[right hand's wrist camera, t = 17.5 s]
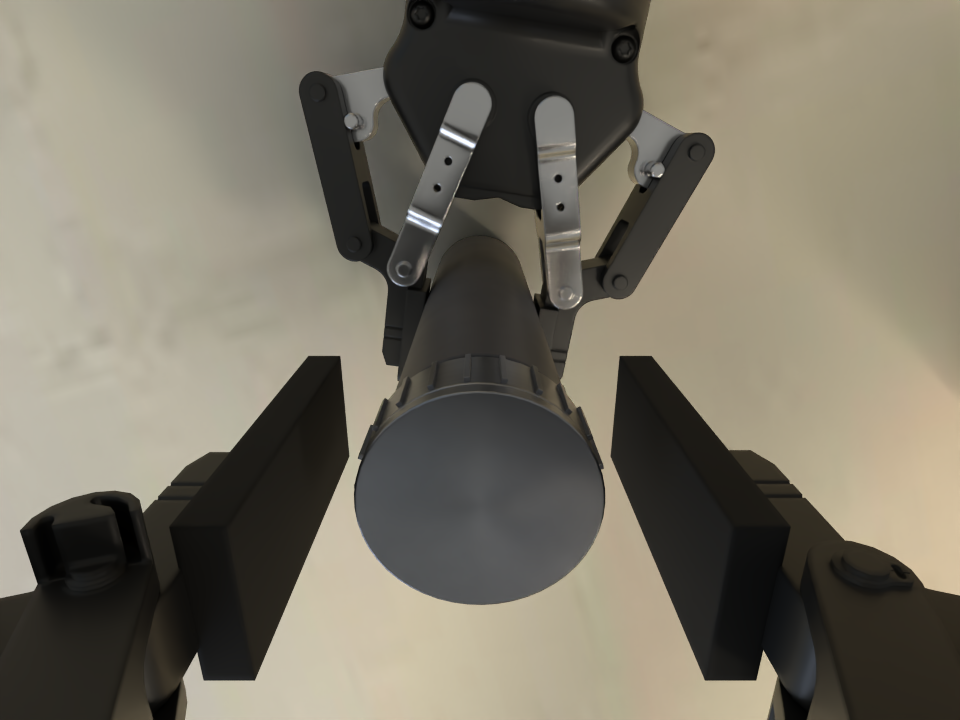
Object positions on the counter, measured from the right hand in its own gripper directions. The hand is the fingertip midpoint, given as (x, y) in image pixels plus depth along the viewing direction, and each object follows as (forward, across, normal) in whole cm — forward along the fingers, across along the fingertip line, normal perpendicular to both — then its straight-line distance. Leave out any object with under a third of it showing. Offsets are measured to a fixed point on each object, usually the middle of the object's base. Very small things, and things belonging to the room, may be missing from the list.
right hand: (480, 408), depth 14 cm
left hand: (+8, 0, -3) cm, 9 cm away
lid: (-4, 0, 0) cm, 4 cm away
